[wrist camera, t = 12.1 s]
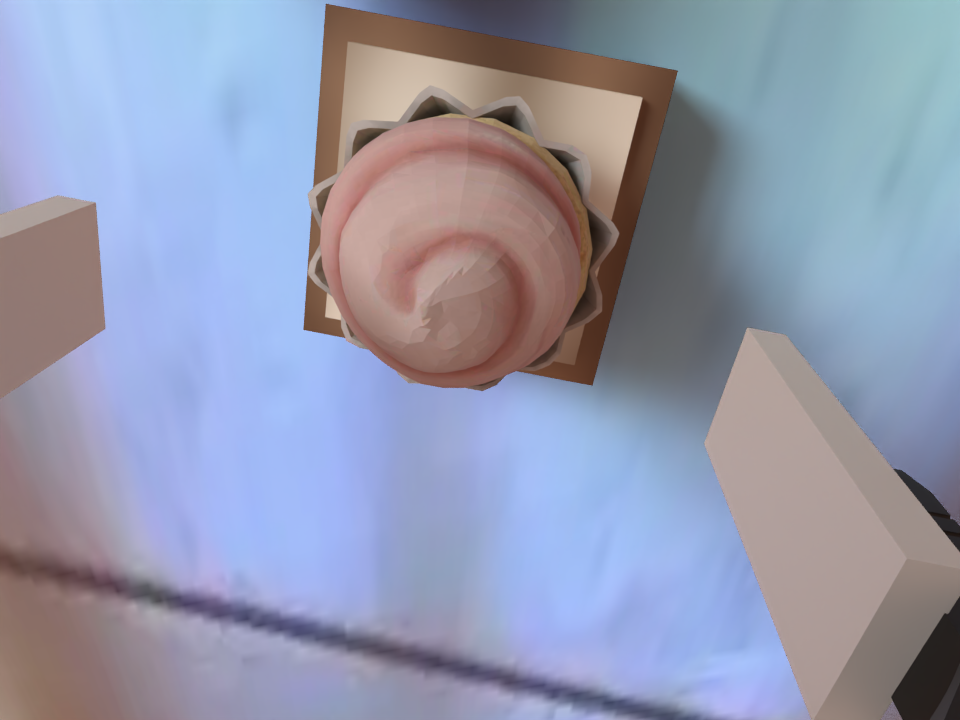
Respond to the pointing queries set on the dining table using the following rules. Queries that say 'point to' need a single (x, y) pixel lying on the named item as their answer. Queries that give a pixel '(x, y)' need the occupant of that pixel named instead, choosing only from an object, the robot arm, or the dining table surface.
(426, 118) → the cupcake
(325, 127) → the walnut base
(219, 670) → the dining table surface
